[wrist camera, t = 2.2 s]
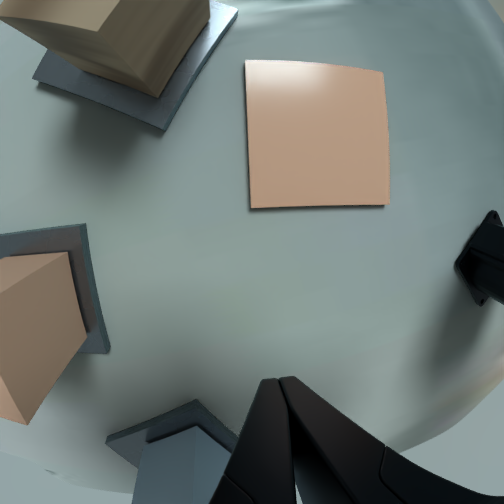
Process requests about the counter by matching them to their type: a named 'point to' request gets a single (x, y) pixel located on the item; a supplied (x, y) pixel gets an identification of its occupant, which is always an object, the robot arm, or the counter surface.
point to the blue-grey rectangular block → (180, 469)
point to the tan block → (35, 330)
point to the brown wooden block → (114, 35)
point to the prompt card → (316, 134)
